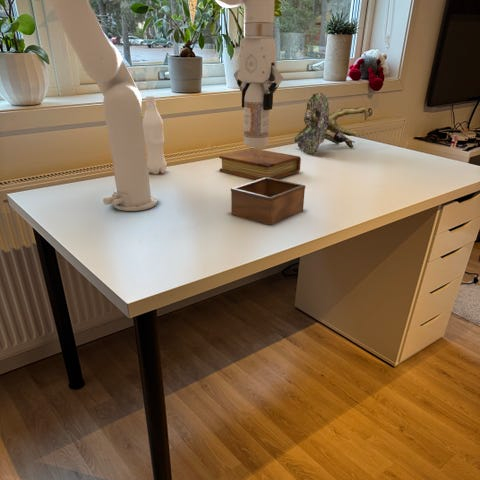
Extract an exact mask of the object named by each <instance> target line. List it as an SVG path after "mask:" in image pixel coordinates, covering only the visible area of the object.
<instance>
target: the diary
mask: <svg viewBox="0 0 480 480" xmlns="http://www.w3.org/2000/svg"><path fill="white" fill-rule="evenodd" d="M218 159H221V168H219V172H221V173H225V174H230V175H233V176H238V177H242V178H247V179H251V180H255V181H256V180H259V179H262V178H265V177H268V178H273V179H278V180H280V179H282V178H286V177H289V176H292V175H294V174H295V175H296V174H298V173H300V171H301V161H302V158H301V156H300V155H299V156H298V155H293V154H288V153H283V152H277V151H272V150H271V151H270V150H265V149H259V148H255V147H249V148H247V149H242V150H237V151H234V152H230V153H225V154H220V155H218Z"/></svg>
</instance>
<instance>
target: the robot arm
mask: <svg viewBox="0 0 480 480" xmlns="http://www.w3.org/2000/svg"><path fill="white" fill-rule="evenodd" d="M49 1H50V5H51V7H52V9H53V12H54V14H55V16H56V19H57V20H58V21H59V24H60V26H61V28H62V30H63V31H64V33H65V35H66V38H67V39H68V41H69V43H70V45H71V47H72V49H73V51H74V52H75V55H76V56H77V58H78V60H79V62H80V64H81V67H82V69H83V70H84V72H85V73H86V75H87V76H88V77H89V78H90V79H91V80H93V81H95V83H96V85H97V87H98V88H99V90H100V92H101V93H102V95H103V102H102V103H103V104H102V107H103V109H102V110H103V115H104V120H105V125H106V130H107V136H108V141H109V149H110V154H111V161H112V167H113V175H114V181H115V189H116V190H114V191H113V194H112V195H111V196H107V197H103V198H102V203H103V205H105V206H107V205H108V206H109V205H111V204H112V206H113V208H115V209H116V210H119V211H123V212H124V211H125V212H138V211H139V212H140V211H145V210H149V209H152V208H153V207H155V206H156V205H157V203H158V202H157V201H158V200H157V198H156V197H154V196H152V195H151V184H150V176H149V174H150V173H149V171H148V165H147V160H148V155H147V147H146V143H145V139H144V130H143V113H142V112H143V111H142V110H143V109H142V107H143V99H142V95H141V92H140V90H139V88H138V86H137V84H136V83H135V80H134V78H133V76H132V74H131V72H130V70H129V68H128V66H127V64H126V62H125V60H124V58H123V57H122V55H121V53H120V51H119V49H118V48H117V46H115V44H114V43H112V42H111V41H110V40H109V39H108V37H107V35H106V34H105V32H104V29H103V27H102V26H101V24H100V22H99V19H98V17H97V15H96V14H95V12H94V10H93V8H92V6H91V4H90V0H49ZM214 1H215V2H216V3H217V4H218V5H219V6H220V7H222V8H225V9H231V8H237V7H243V27H242V28H241V33H242V34H243V38H240V44H239V50H238V61H237V69H236V71H235V72H234V73H233V77H234V79H235V81H236V84H237V86H238V87H239V91H240V92H241V108H243V109H244V100H245V94H246V91H247V89H248V87H249V85H250V84H251V82H256V83H263V86H264V89H265V92H266V94H264V99H263V109H264V110H269V111H270V110H271V111H272V109H273V106H274V105H273V104H274V94H275V93H276V90H277V89H278V88H279V86H280V85H281V83H282V81H283V80H284V76H283V75H282V73H281V72H280V71H279V70H278V68H277V65H278V64H277V63H278V62H277V46H276V39H275V38H274V25H275V24H274V23H275V1H276V0H214Z"/></svg>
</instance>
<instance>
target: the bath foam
mask: <svg viewBox="0 0 480 480" xmlns="http://www.w3.org/2000/svg"><path fill="white" fill-rule="evenodd" d="M264 94H266V92H265V89H264V86H263V83H256V82H251V84H250V85H249V87H248V89H247V91H246V94H245V100H244V108H243V145H244V146H245V147H248V148H264V147H266V146H268V145H269V131H270V129H269V128H270V110H264V109H263V99H264Z"/></svg>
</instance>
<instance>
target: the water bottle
mask: <svg viewBox="0 0 480 480" xmlns="http://www.w3.org/2000/svg"><path fill="white" fill-rule="evenodd" d="M145 106H146V107H145V112H144V114H143V116H142V121H143V130H144V139H145V147H146V152H147V165H148V173H149V174H153V175H159V173H161V174H165V173H166V171H167V165H168V163H167V160H166V158H165V154H164V143H165V131H164V120H163V118H162V116H161V115H160V112H159V111H158V108H157V102H156V97H155V96H145Z"/></svg>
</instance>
